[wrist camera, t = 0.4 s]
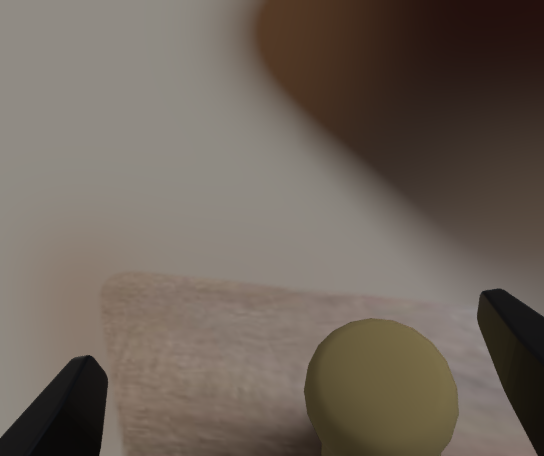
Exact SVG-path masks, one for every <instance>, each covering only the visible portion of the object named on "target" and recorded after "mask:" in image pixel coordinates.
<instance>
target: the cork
mask: <svg viewBox="0 0 544 456" xmlns="http://www.w3.org/2000/svg"><path fill="white" fill-rule="evenodd" d="M304 394H305V401H306V407H307V414H308V416H309V418H310V420H311V422H312V424H313V426H314V429H315V431H316V433H317V435H318V437H319V439H320V441H321V442H322V449H321V456H441V452H442V451H443V450H444V448H445V447H446V446H447V445H448V443H449V442H450V440H451V438H452V435H453V431H454V428H455V425H456V421H457V418H458V415H459V410H458V393H457V387H456V384H455V381H454V379H453V376H452V374H451V371H450V368H449V366H448V363H447V361H446V359H445V358H444V357H443V356H442V354H441V353H440V352H439V350H438V349H437V348H436V347H435V345H434V344H433V343H432V342H431V341H430V340H428V339H427V338H426V337H424V336H423V335H422V334H420V333H419V332H418V331H416V330H415V329H413V328H411V327H408V326H406V325H403V324H401V323H398V322H395V321H393V320H383V319H373V318H370V319H365V320H359V321H354V322H350V323H348V324H346V325H344V326H342V327H340V328H338V329H336V330H334V331H333V332H332V333H331V334H329V335H328V336H327V337H326V338H325V339H324V340H323V341H322V342H321V343H320V344H319V345H318V347H317V349H316V351H315V353H314V355H313V357H312V359H311V361H310V363H309V365H308V369H307V375H306V381H305V387H304Z"/></svg>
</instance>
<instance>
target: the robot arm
mask: <svg viewBox="0 0 544 456" xmlns="http://www.w3.org/2000/svg"><path fill="white" fill-rule="evenodd" d="M477 320H478V324H479V327H480V330H481V333H482V335H483V338H484V340H485V343H486V345H487V348H488V351H489V353H490V356H491V358H492V361H493V364H494V366H495V369H496V371H497V374H498V376H499V379H500V381H501V384H502V386H503V389H504V391H505V393H506V395H507V397H508V399H509V401H510V403H511V405H512V407H513V409H514V411H515V413H516V415H517V417H518V419H519V420H520V422H521V424H522V426H523V428H524V430H525V432H526V434H527V436H528V438H529V440H530V442H531V443H532V445H533V447H534V449H535V451H536V453H537V455H538V456H544V317H543V316H542V315H540V314H539V313H537V312H536V311H534V310H533V309H531V308H530V307H528V306H527V305H526V304H524V303H523V302H521V301H520V300H518V299H517V298H515V297H514V296H512V295H511V294H509V293H508V292H506V291H505V290H502V289H492V290H486V291H482V293H481V294H480V298H479V305H478V312H477ZM107 388H108V378H107V375H106V373H105V371H104V370H103V369H102V368H101V366H100V365H99V364H98V362H97V361H96V360H95V359H94V358H93V357H92V356H90V355H86V356H80V357H75V358H73V359H72V360H71V361H69V363H68V364H67V365H66V366H65V367H64V368H63V369H62V370H61V371H60V372H59V374H58V375H57V376H56V377H55V378H54V379H53V380H52V382H50V384H49V385H48V386H47V387H46V388H45V389H44V390H43V391H42V392H41V394H40V395H39V396H38V397H37V398H36V399H35V400H34V401H33V403H31V405H30V406H29V407H28V408H27V409H26V410H25V411H24V412H23V413H22V415H21V416H20V417H19V418H18V419H17V420H16V421H15V422H14V423H13V425H12V426H11V427H10V428H9V429H8V430H7V431H6V432H5V433H4V434H3V436H2V437H1V438H0V456H99V454H100V449H101V442H102V435H103V425H104V416H105V407H106V397H107Z"/></svg>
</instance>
